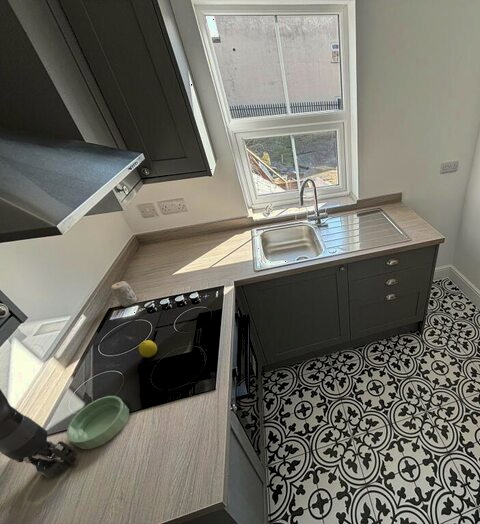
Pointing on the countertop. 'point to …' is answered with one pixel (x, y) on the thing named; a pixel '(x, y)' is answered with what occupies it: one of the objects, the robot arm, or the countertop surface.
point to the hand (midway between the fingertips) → (57, 463)
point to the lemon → (147, 348)
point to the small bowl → (50, 467)
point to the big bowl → (98, 422)
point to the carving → (124, 293)
